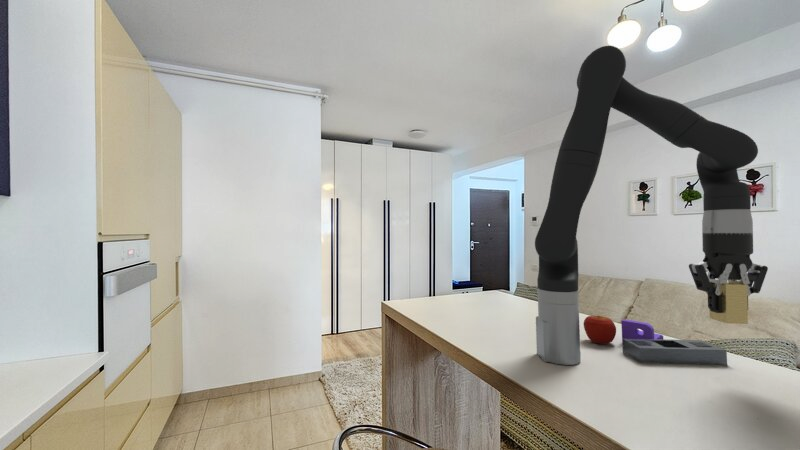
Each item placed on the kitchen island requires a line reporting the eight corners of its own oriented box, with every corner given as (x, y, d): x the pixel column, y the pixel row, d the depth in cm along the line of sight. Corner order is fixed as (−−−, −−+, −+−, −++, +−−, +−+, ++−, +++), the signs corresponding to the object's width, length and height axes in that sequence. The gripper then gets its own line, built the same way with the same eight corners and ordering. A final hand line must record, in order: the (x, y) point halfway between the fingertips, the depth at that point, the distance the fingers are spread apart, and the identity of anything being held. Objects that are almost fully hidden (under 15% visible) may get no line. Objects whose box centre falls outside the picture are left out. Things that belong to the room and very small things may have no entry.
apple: (610, 349, 85) (609, 320, 86) (579, 342, 92) (578, 314, 92) (620, 343, 90) (619, 315, 91) (590, 336, 96) (589, 310, 97)
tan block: (726, 323, 65) (725, 284, 66) (709, 318, 69) (708, 281, 70) (747, 323, 65) (747, 284, 65) (729, 318, 69) (728, 281, 69)
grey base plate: (640, 362, 76) (639, 347, 76) (622, 352, 83) (622, 338, 83) (727, 365, 74) (726, 349, 74) (702, 354, 81) (701, 339, 81)
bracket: (652, 351, 84) (651, 325, 85) (622, 344, 90) (621, 320, 90) (663, 341, 92) (662, 317, 92) (635, 336, 97) (634, 313, 98)
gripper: (705, 231, 65) (706, 316, 64) (783, 231, 63) (785, 318, 63) (676, 231, 72) (678, 307, 72) (745, 231, 71) (747, 309, 70)
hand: (728, 312), depth 67 cm, fingers closed on tan block, 4 cm apart
